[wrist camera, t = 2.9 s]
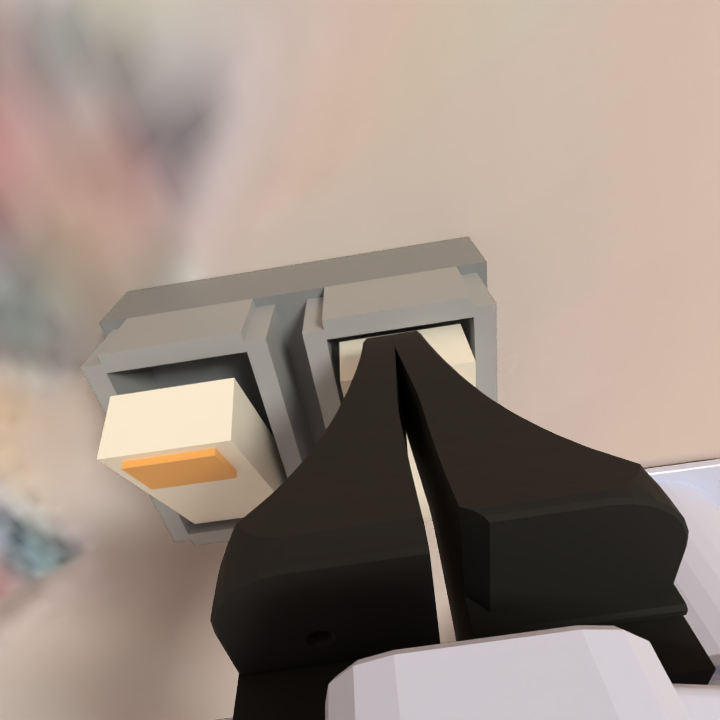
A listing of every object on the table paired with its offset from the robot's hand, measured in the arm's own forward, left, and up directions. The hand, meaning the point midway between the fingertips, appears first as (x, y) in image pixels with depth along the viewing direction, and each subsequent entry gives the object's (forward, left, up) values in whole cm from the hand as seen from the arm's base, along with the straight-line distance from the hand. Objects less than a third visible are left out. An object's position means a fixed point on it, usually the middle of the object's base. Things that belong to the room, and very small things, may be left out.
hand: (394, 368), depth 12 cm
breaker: (-3, +6, -1) cm, 7 cm away
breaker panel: (-3, +3, -6) cm, 7 cm away
